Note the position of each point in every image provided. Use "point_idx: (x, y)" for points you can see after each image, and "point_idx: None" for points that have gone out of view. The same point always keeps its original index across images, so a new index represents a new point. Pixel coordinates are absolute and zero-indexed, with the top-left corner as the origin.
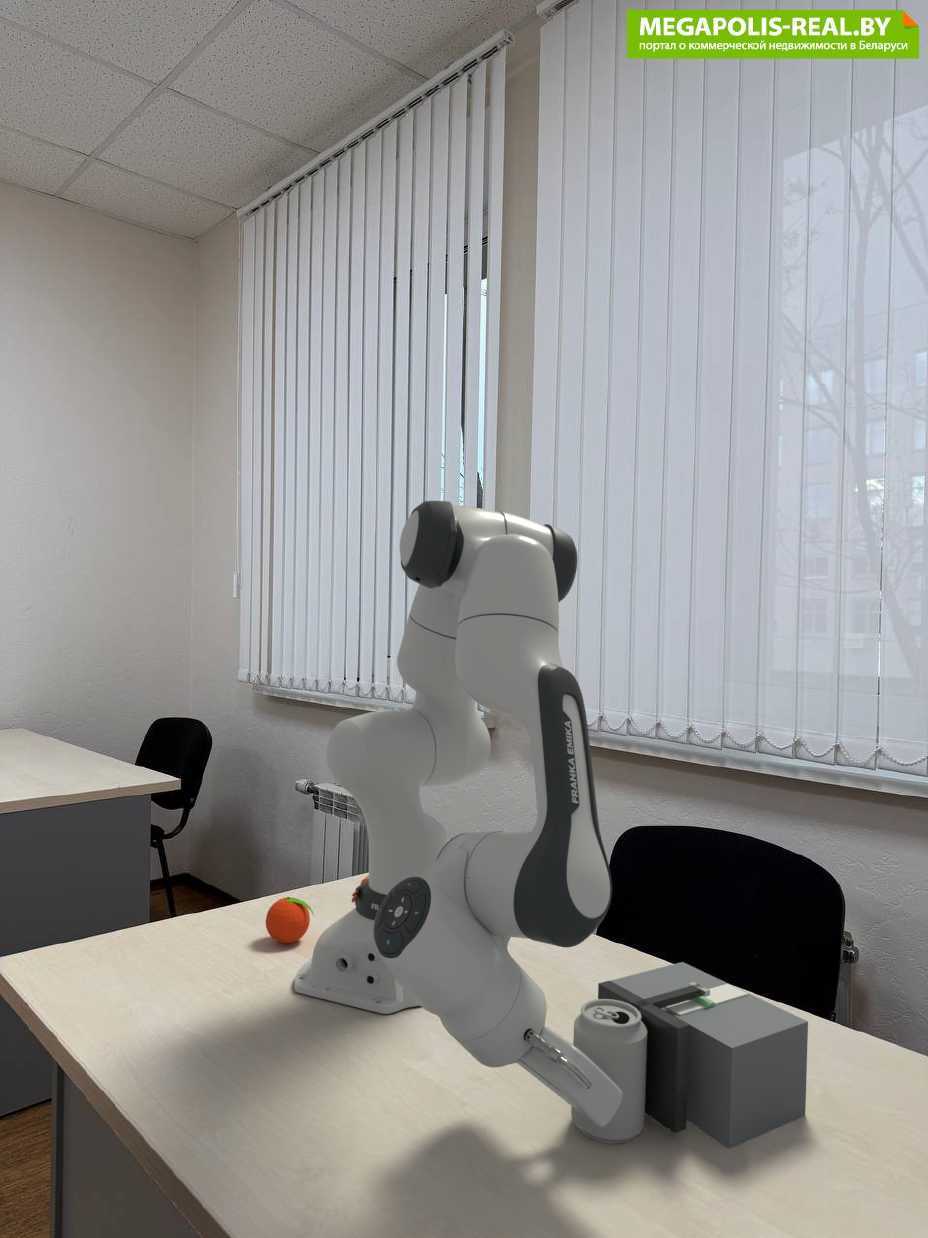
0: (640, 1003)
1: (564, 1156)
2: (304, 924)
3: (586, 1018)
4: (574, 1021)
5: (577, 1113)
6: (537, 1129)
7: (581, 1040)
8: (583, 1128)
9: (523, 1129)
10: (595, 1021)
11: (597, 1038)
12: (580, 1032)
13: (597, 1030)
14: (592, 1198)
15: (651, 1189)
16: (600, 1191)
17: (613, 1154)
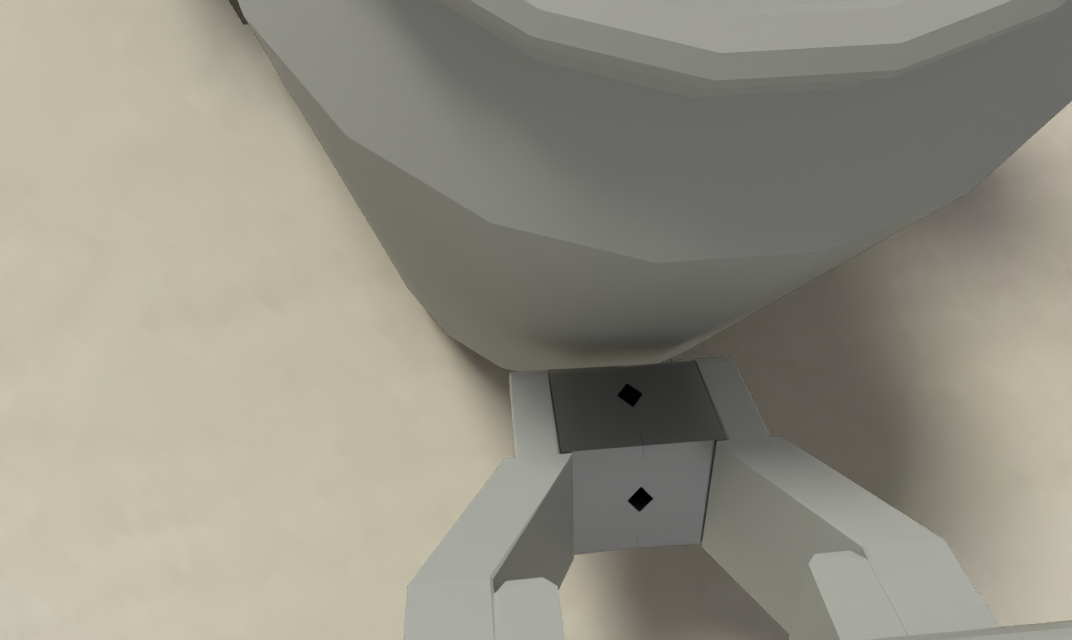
0: None
1: (688, 546)
2: None
3: (764, 75)
4: (356, 133)
5: None
6: None
7: (696, 278)
8: None
9: (404, 622)
10: (971, 10)
11: (970, 154)
12: (689, 255)
13: (954, 76)
14: (1003, 603)
15: (1036, 313)
16: (974, 538)
17: (766, 313)
